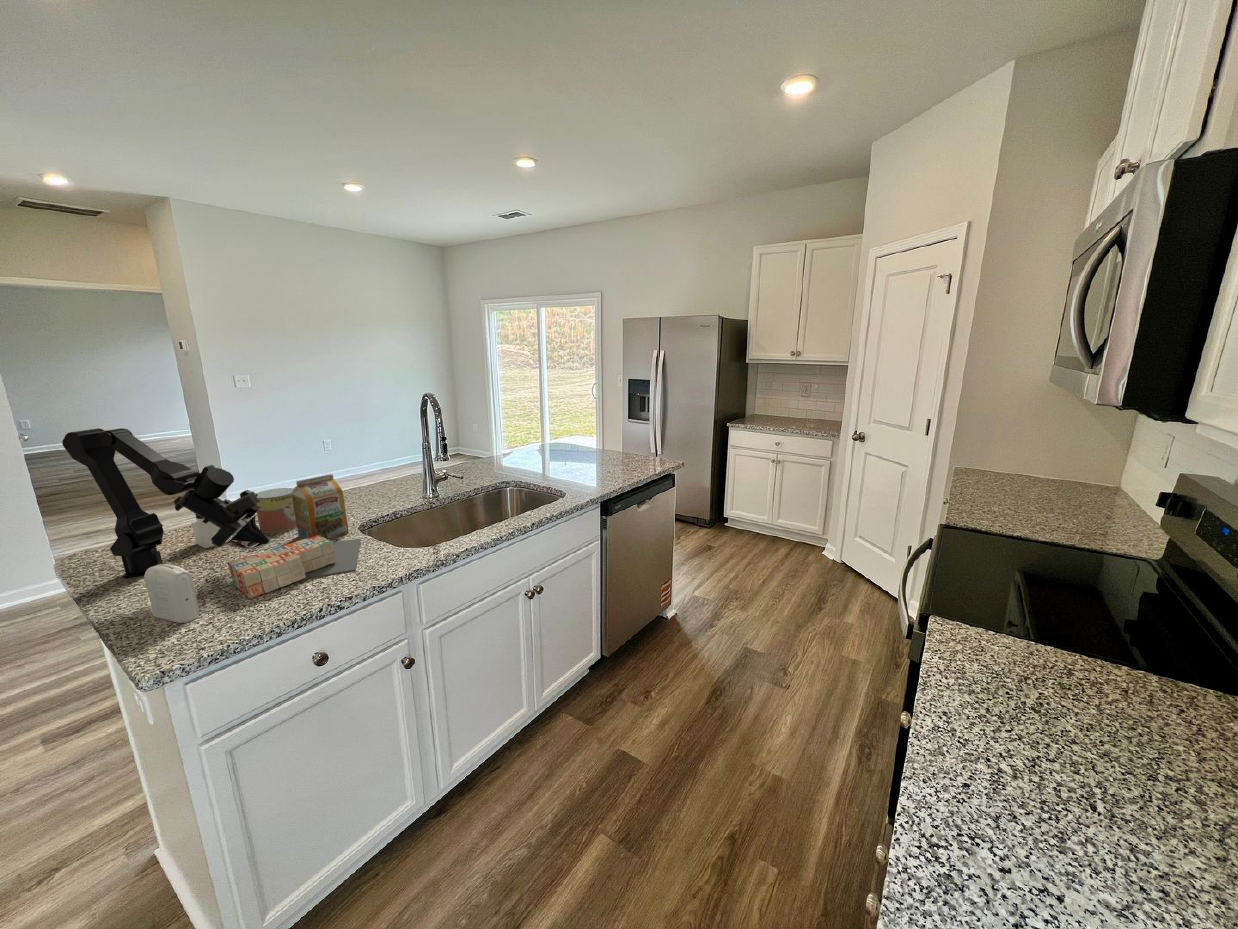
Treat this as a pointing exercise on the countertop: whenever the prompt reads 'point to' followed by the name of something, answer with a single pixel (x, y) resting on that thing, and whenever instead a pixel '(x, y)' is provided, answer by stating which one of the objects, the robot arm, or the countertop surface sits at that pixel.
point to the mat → (339, 559)
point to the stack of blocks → (281, 565)
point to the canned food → (276, 510)
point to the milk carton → (319, 508)
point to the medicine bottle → (204, 532)
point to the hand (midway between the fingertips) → (267, 542)
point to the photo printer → (171, 593)
